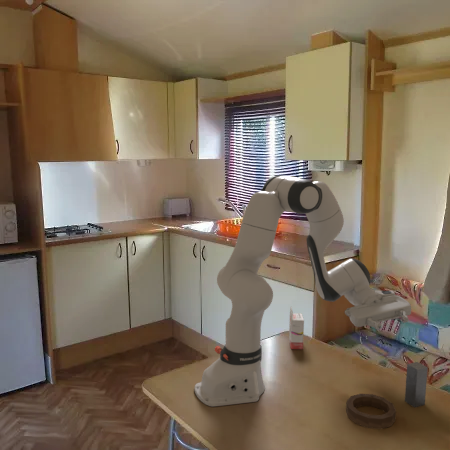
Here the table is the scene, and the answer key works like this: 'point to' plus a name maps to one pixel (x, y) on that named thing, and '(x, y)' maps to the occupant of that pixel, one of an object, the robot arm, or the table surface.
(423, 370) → the metal peg
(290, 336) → the ink cartridge box
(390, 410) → the walnut ring
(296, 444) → the table surface
